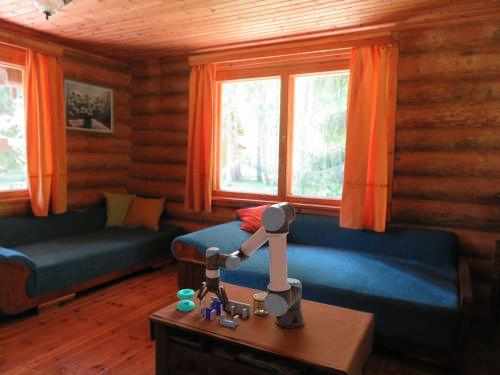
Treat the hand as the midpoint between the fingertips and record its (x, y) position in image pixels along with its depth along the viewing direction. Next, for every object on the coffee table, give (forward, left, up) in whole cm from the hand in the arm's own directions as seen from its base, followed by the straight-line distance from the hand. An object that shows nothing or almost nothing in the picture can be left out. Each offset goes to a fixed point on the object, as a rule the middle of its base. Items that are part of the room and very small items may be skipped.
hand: (212, 313), depth 203 cm
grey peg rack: (-7, 0, 0) cm, 7 cm away
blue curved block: (-1, 0, -1) cm, 1 cm away
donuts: (+17, +2, 0) cm, 17 cm away
